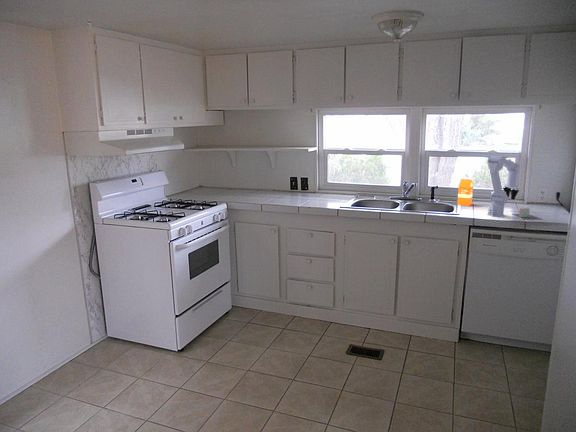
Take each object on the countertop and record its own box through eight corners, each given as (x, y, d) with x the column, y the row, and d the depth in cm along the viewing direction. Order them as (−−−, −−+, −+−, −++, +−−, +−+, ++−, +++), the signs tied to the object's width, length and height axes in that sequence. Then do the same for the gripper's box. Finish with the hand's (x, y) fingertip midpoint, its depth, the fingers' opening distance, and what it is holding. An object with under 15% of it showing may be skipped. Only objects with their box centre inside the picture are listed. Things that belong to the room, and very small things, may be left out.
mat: (525, 220, 294) (525, 219, 294) (511, 214, 310) (511, 214, 310) (542, 219, 295) (542, 219, 295) (527, 214, 311) (527, 213, 311)
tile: (520, 217, 300) (521, 208, 299) (519, 216, 302) (519, 208, 301) (529, 217, 300) (530, 208, 299) (527, 216, 302) (528, 208, 301)
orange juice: (460, 202, 353) (462, 178, 348) (471, 204, 347) (473, 179, 343) (457, 204, 347) (459, 179, 342) (468, 205, 341) (470, 180, 337)
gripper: (523, 181, 305) (521, 200, 308) (511, 178, 319) (509, 196, 322) (513, 181, 304) (511, 200, 308) (502, 178, 318) (500, 196, 322)
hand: (509, 198), depth 315 cm, fingers open, 7 cm apart
